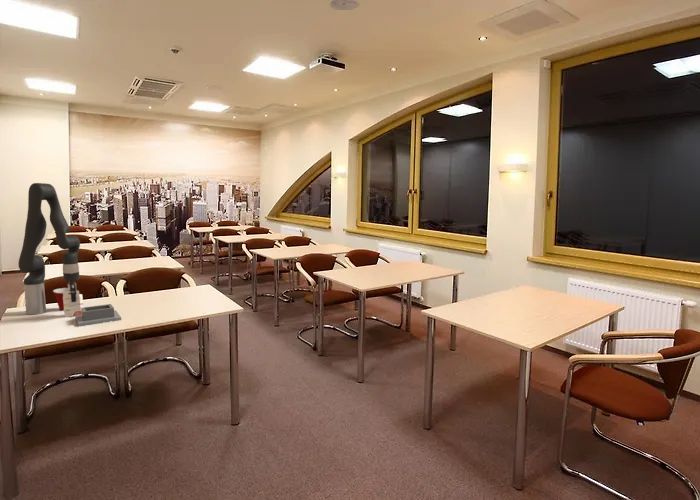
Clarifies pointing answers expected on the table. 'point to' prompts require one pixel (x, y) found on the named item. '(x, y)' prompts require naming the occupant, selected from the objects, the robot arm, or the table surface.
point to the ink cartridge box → (72, 304)
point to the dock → (97, 315)
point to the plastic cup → (60, 297)
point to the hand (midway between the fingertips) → (73, 300)
